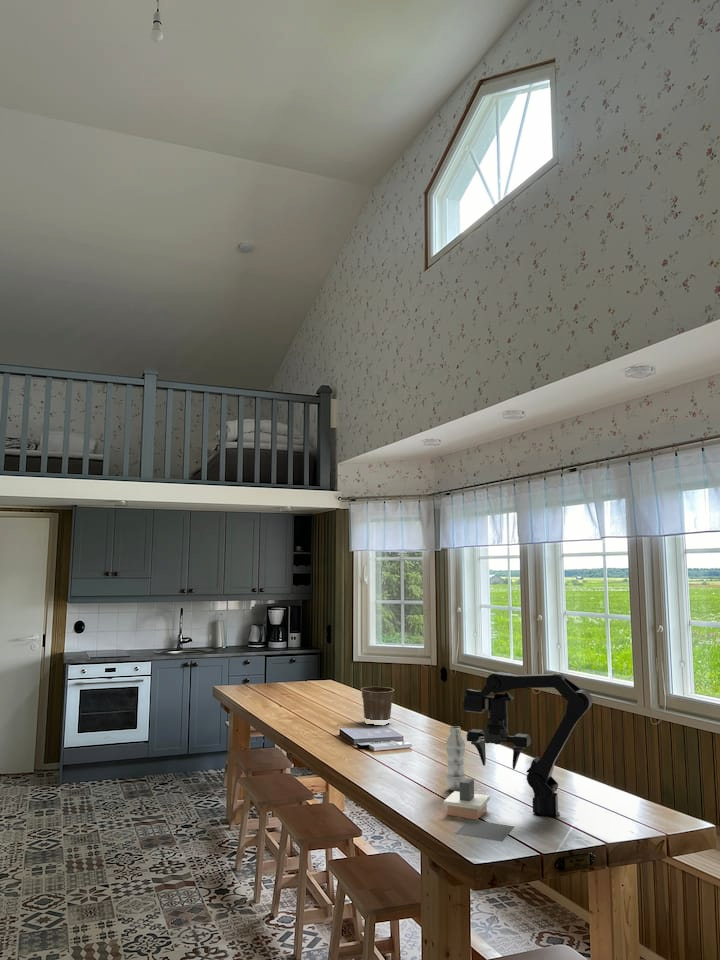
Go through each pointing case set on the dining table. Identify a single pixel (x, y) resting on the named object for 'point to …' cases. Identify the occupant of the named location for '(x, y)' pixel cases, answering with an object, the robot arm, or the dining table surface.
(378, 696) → the plant pot
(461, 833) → the mat
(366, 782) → the dining table surface
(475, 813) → the orange open box
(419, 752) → the dining table surface
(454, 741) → the plastic bottle
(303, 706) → the dining table surface
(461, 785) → the lid
